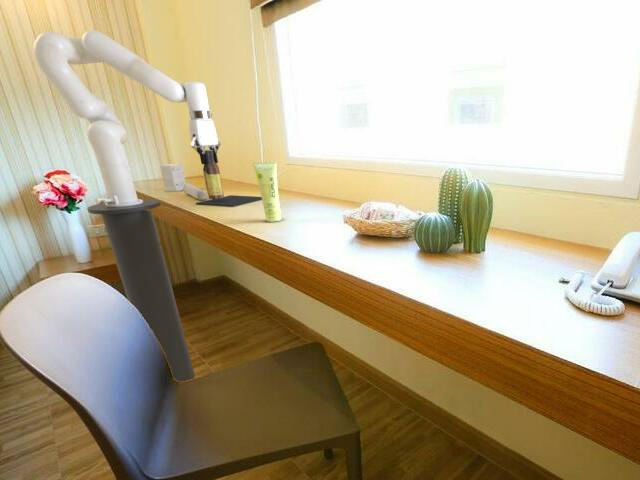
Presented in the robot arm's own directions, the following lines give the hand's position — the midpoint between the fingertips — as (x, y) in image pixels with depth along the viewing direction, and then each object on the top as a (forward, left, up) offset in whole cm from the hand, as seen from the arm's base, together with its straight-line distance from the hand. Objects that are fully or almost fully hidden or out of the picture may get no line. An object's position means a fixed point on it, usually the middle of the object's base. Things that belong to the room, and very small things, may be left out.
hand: (209, 163), depth 163 cm
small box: (+22, +50, -17) cm, 57 cm away
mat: (+4, -4, -16) cm, 17 cm away
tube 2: (-22, -47, -17) cm, 55 cm away
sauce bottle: (0, 0, -15) cm, 15 cm away
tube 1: (+8, +21, -17) cm, 28 cm away
